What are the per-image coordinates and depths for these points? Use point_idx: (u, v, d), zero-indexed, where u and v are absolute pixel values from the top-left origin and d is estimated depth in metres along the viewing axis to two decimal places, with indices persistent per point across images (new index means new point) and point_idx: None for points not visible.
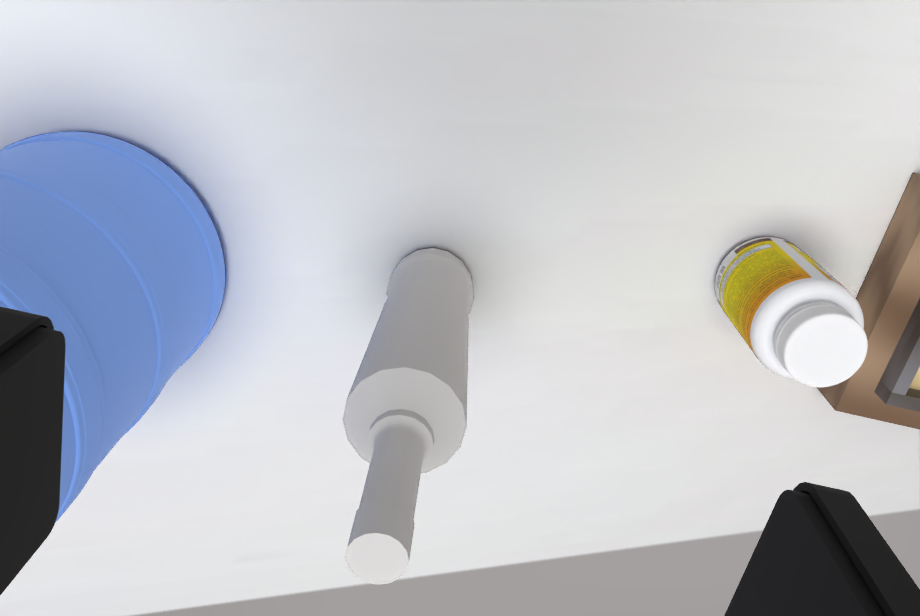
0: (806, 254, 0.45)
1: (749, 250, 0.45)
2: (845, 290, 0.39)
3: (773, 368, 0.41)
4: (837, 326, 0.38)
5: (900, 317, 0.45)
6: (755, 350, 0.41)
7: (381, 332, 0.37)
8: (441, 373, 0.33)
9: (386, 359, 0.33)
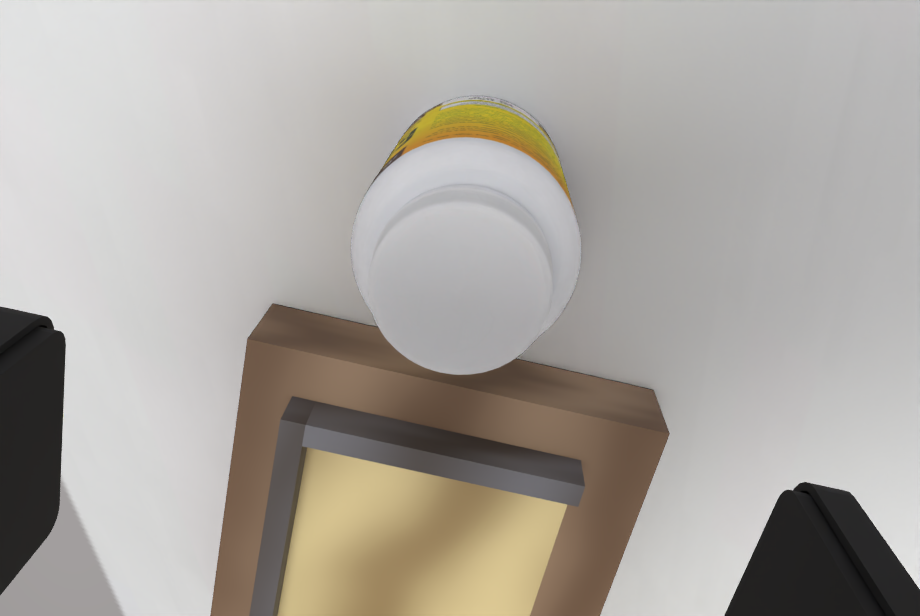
0: None
1: (552, 146, 0.24)
2: (559, 315, 0.19)
3: (379, 195, 0.18)
4: (522, 307, 0.17)
5: (436, 413, 0.26)
6: (417, 152, 0.18)
7: None
8: None
9: None
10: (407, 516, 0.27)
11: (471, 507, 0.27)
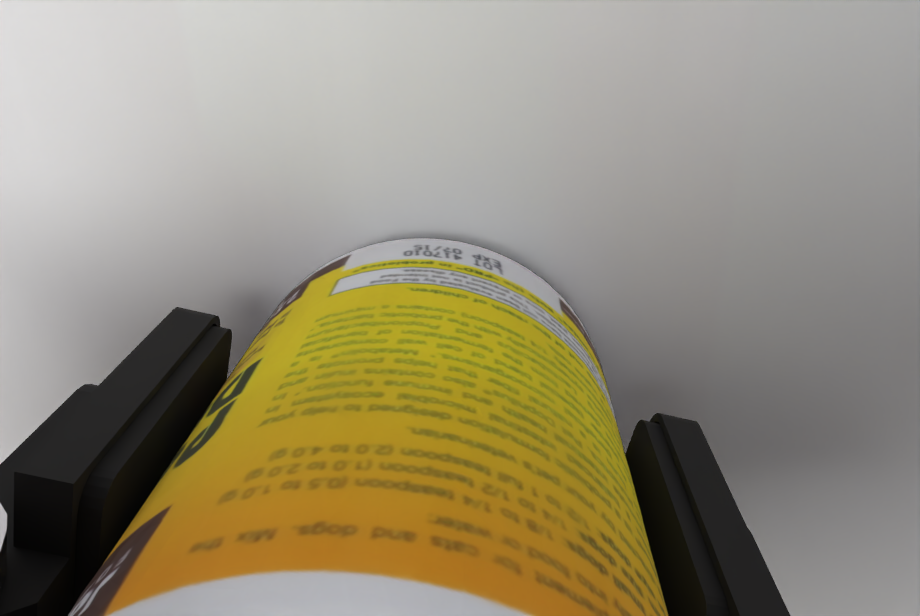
0: None
1: (592, 363, 0.10)
2: None
3: None
4: None
5: None
6: None
7: None
8: None
9: None
10: None
11: None
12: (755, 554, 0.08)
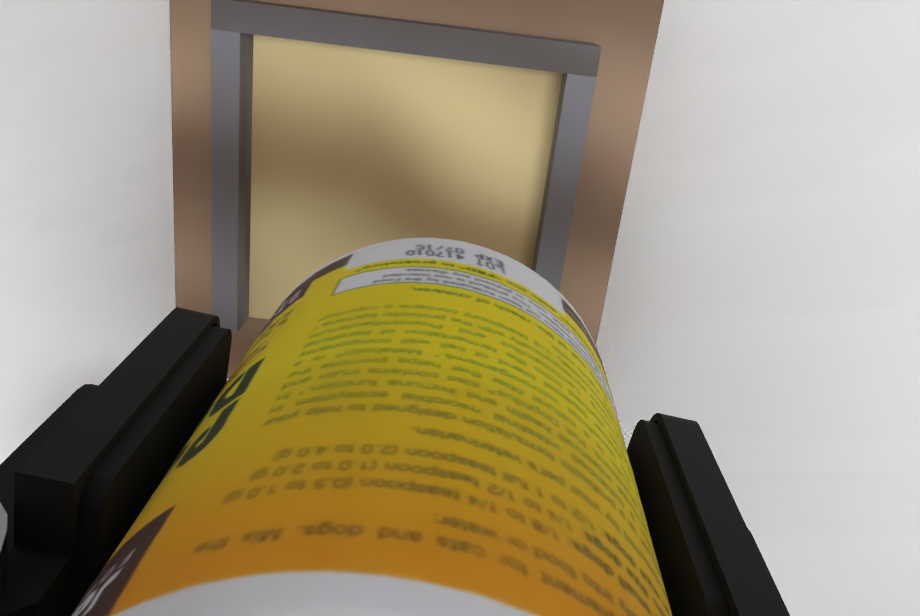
0: None
1: (595, 363, 0.10)
2: None
3: None
4: None
5: (584, 206, 0.25)
6: None
7: None
8: None
9: None
10: (453, 186, 0.24)
11: None
12: (754, 554, 0.08)
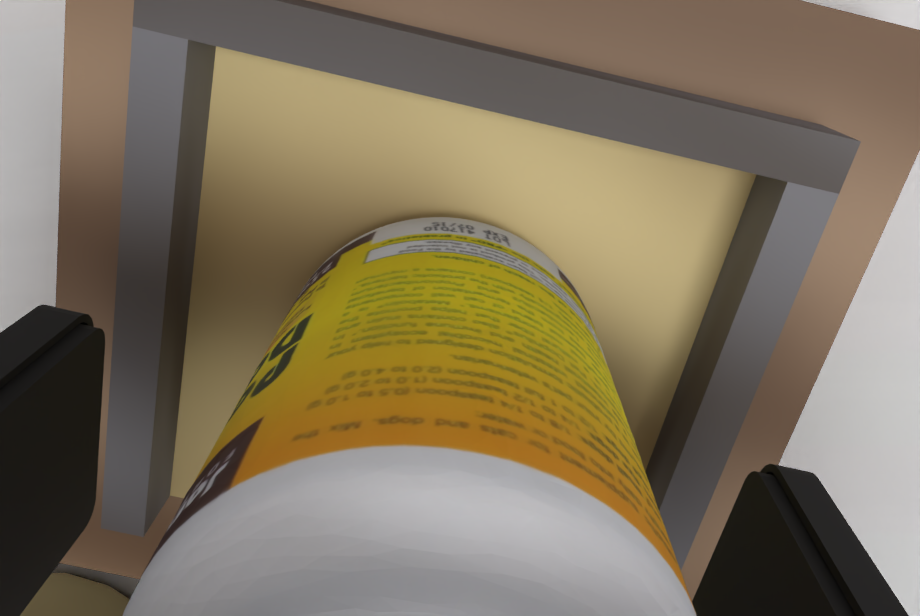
0: None
1: (588, 322, 0.12)
2: None
3: None
4: None
5: None
6: (265, 502, 0.06)
7: None
8: None
9: None
10: None
11: None
12: None
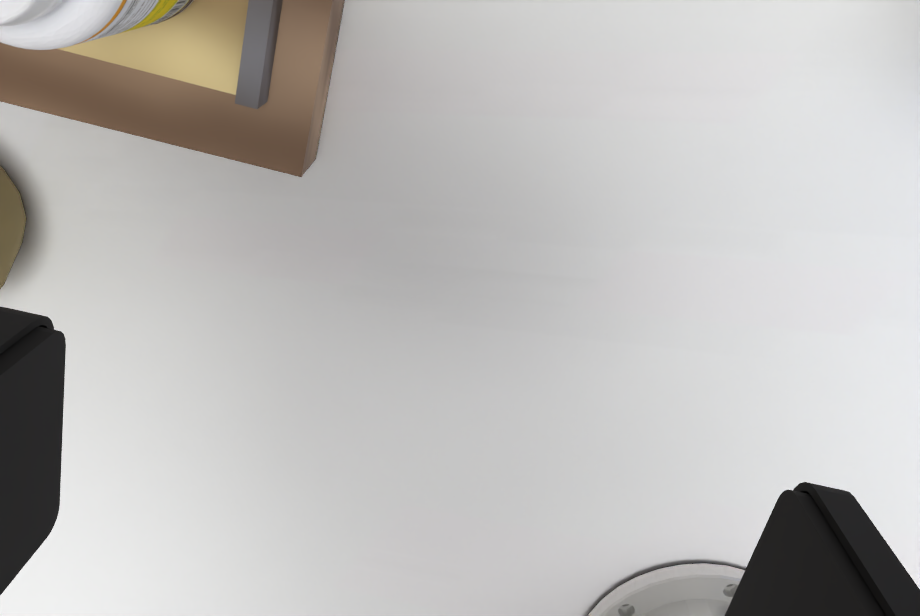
0: None
1: None
2: (111, 0, 0.20)
3: None
4: None
5: None
6: None
7: None
8: None
9: None
10: None
11: None
12: None
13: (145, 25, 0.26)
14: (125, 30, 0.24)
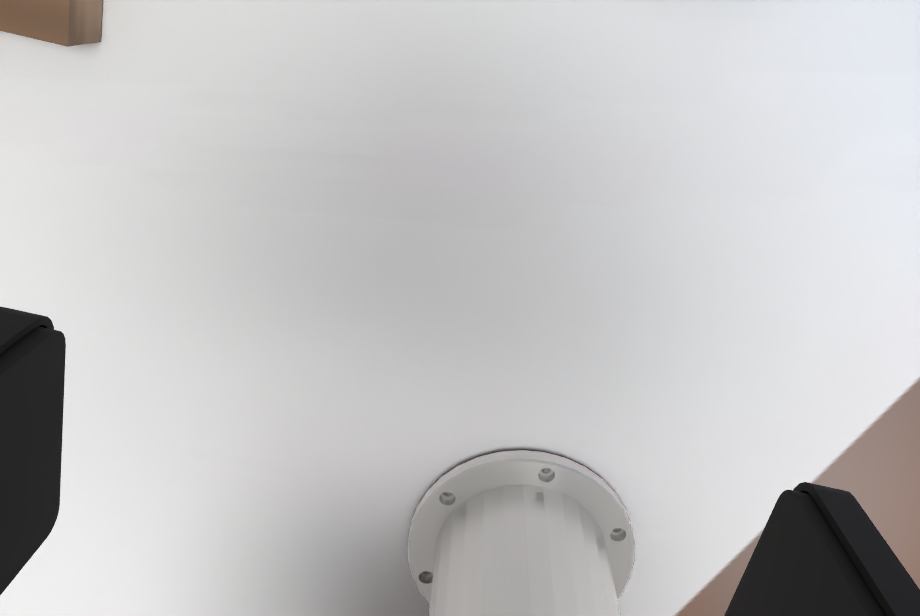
0: None
1: None
2: None
3: None
4: None
5: None
6: None
7: None
8: None
9: None
10: None
11: None
12: None
13: None
14: None
